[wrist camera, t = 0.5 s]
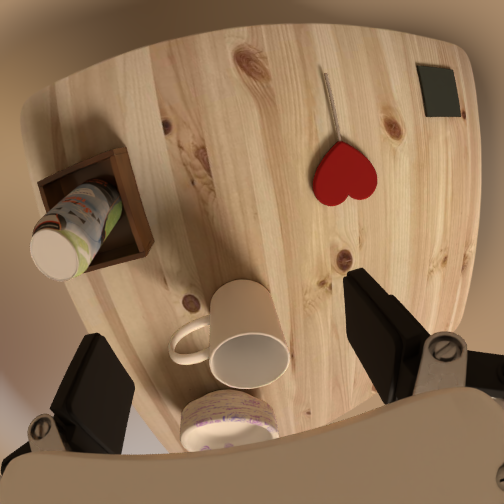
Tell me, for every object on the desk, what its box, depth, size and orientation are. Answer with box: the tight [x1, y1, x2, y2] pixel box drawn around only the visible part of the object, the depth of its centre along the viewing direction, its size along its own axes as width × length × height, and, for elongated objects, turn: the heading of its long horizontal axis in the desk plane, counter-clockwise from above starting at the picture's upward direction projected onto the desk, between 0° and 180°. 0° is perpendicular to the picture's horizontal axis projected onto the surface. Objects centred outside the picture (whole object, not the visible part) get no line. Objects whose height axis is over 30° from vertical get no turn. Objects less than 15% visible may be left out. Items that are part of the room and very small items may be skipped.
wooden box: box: [37, 147, 155, 274], centre depth 28 cm, size 11×10×4 cm
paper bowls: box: [180, 390, 279, 452], centre depth 40 cm, size 15×15×8 cm
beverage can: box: [30, 178, 122, 282], centre depth 24 cm, size 6×7×12 cm
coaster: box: [417, 66, 461, 117], centre depth 28 cm, size 7×7×1 cm
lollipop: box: [313, 73, 377, 206], centre depth 29 cm, size 8×1×15 cm
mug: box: [168, 279, 290, 389], centre depth 31 cm, size 12×8×10 cm, turn 89°
